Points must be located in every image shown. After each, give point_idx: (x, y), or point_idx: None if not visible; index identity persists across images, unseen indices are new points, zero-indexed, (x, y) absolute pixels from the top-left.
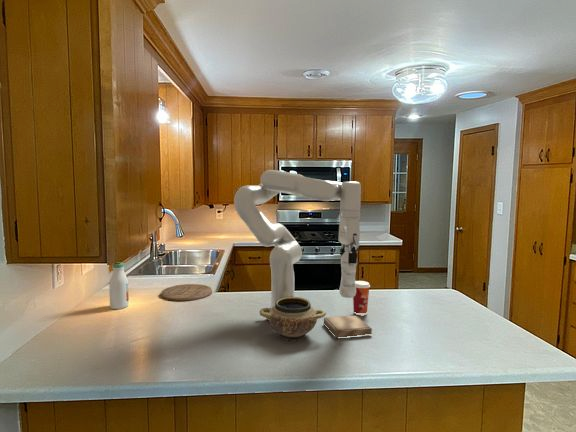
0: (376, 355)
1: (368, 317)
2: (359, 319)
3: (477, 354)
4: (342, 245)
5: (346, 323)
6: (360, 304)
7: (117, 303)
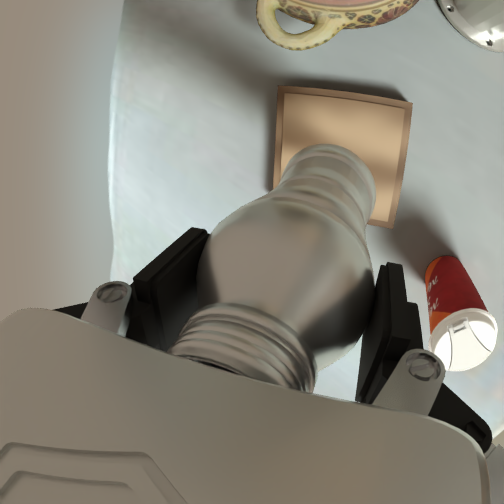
0: (173, 149)
1: (409, 279)
2: None
3: None
4: (392, 395)
5: None
6: (434, 284)
7: None
